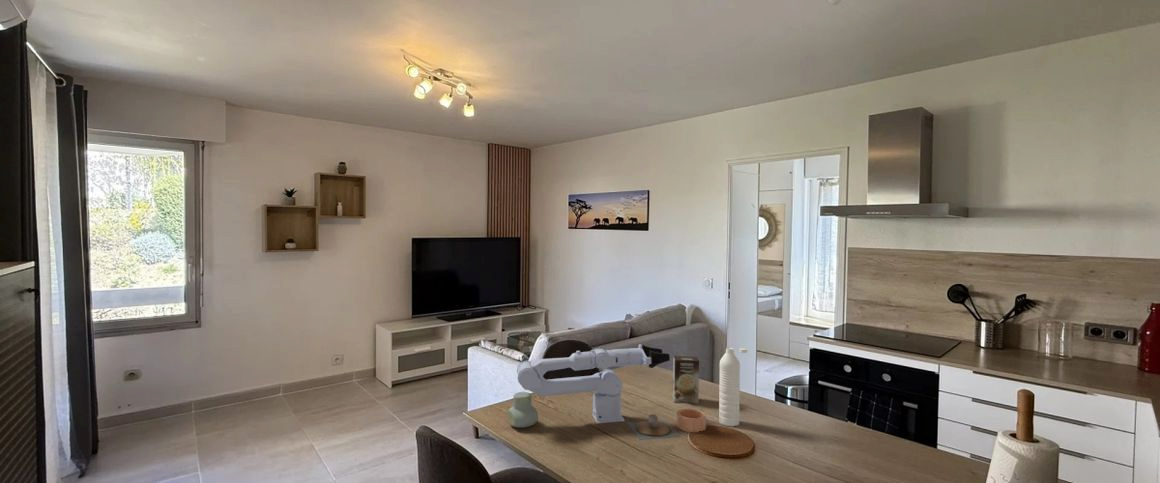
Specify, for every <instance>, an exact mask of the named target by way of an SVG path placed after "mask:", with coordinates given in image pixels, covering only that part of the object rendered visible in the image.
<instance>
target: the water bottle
mask: <svg viewBox="0 0 1160 483" xmlns="http://www.w3.org/2000/svg"><path fill="white" fill-rule="evenodd" d="M738 349H739V353H744V354H745V353H748V349H747V348H744V347H739V348H738ZM734 352H735V351H734V348H733V347H726V348H725V353H724V354H723V355H722V357H721V359H719V387H718V389H719V393H718V395H719V396H718V397H719V399H718V400H719V404H718V406H719V410H718V414H719V415H718V421H719V423H720V425H723V426H727V427H735V426H736V427H737V426H739V425H740V397H741V396H740V392H741V388H740V385H741V384H740V382H741V380H740V379H741V378H740V377H741V376H740V375H741V373H740V369H741V364H740V360H739V358H738V357H737V356H736V355H735V353H734Z"/></svg>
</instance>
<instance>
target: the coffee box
mask: <svg viewBox="0 0 1160 483" xmlns="http://www.w3.org/2000/svg"><path fill="white" fill-rule="evenodd" d="M672 358H673V359H672V395H671V396H672V400H673V403H680V404H686V403H687V404H698V405H699V391H700V390H699V384H700V382H699V381H700V380H699V378H700V360H699V358H698V357H697V356H686V355H685V356H684V355H683V356H682V355H673V357H672Z"/></svg>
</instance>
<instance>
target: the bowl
mask: <svg viewBox="0 0 1160 483" xmlns="http://www.w3.org/2000/svg"><path fill="white" fill-rule="evenodd" d="M676 427H677V428H678V429H679V430H681V431H684V432H687V433H700V432H699V431H702V432H703V430H704V431H705V430H706V429H707V413H706V412H704V411H702V410H700V409H696V408H695V409H694V408H682V409H680V410H677V412H676Z"/></svg>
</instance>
